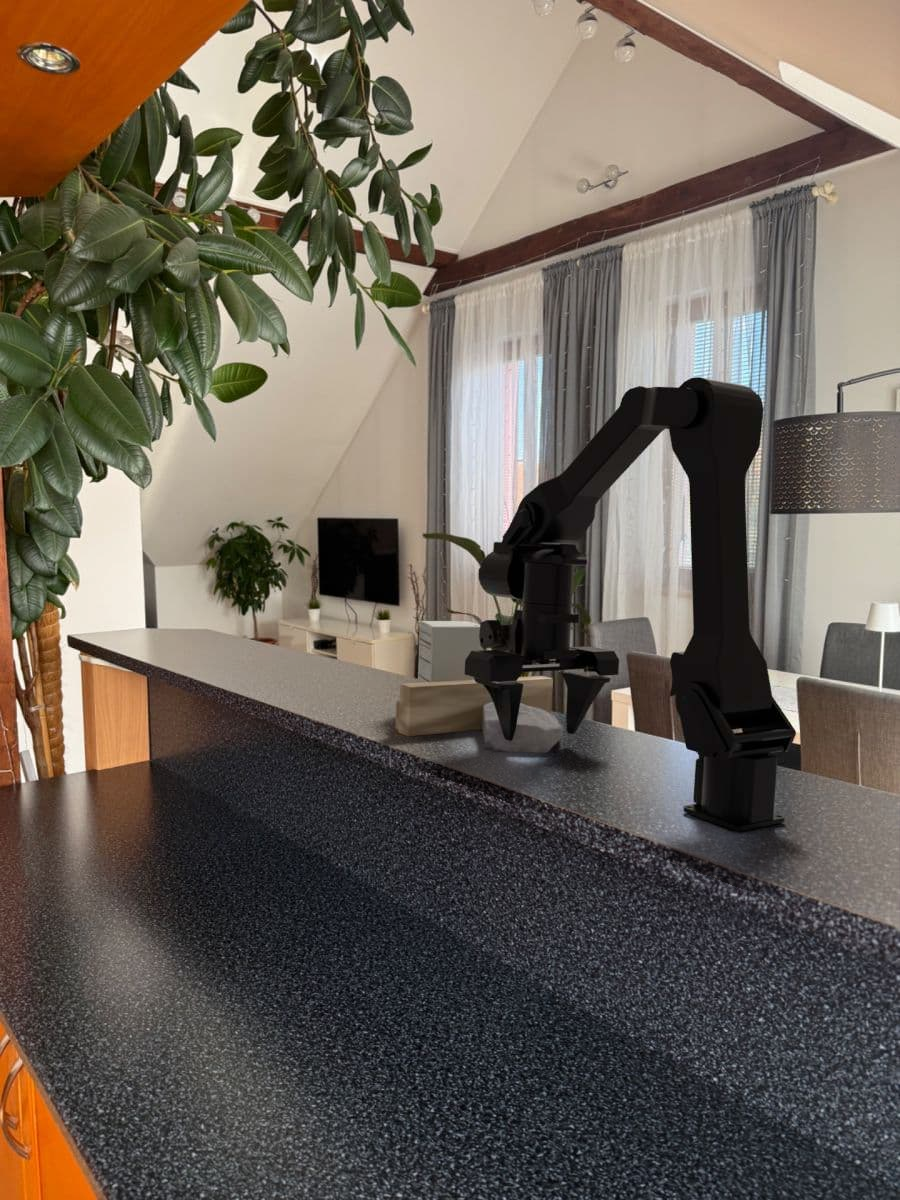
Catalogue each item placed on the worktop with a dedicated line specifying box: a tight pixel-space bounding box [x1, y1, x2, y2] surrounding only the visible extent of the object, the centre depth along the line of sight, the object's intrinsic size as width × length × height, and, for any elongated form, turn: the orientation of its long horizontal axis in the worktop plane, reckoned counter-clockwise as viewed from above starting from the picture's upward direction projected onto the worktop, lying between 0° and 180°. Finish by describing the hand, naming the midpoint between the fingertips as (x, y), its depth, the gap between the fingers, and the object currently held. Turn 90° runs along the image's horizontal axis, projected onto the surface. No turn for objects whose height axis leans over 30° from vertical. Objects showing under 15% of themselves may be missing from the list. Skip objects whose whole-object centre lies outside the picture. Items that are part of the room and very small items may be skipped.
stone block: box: [481, 702, 564, 754], centre depth 110 cm, size 12×5×10 cm
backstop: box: [395, 675, 554, 737], centre depth 118 cm, size 4×22×6 cm, turn 122°
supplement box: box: [417, 620, 484, 683], centre depth 124 cm, size 7×7×13 cm
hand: (540, 736), depth 106 cm, fingers open, 9 cm apart
